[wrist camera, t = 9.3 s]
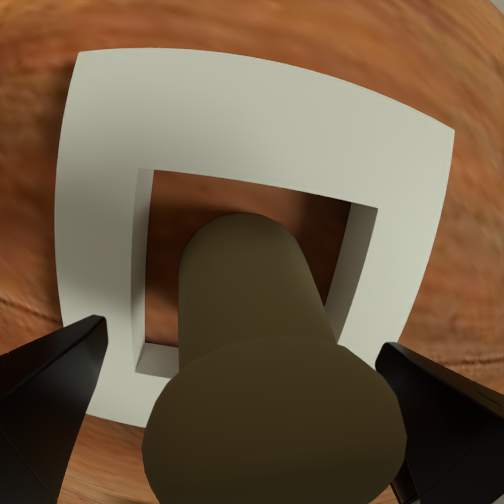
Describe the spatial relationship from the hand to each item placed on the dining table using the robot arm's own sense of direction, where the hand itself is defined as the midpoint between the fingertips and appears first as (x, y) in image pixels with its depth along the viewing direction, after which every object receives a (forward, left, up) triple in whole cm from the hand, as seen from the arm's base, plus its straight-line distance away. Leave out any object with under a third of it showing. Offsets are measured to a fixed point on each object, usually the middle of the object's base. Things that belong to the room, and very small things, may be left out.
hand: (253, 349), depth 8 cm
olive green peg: (0, 0, -6) cm, 6 cm away
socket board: (0, 0, -6) cm, 6 cm away
